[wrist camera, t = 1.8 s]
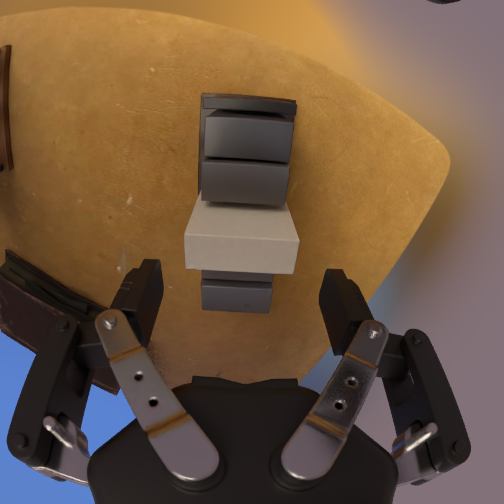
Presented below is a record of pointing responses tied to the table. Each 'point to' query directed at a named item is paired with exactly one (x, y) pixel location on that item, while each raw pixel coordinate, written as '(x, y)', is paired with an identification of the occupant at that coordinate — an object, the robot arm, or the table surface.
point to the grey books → (243, 180)
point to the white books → (4, 111)
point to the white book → (241, 238)
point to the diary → (42, 309)
